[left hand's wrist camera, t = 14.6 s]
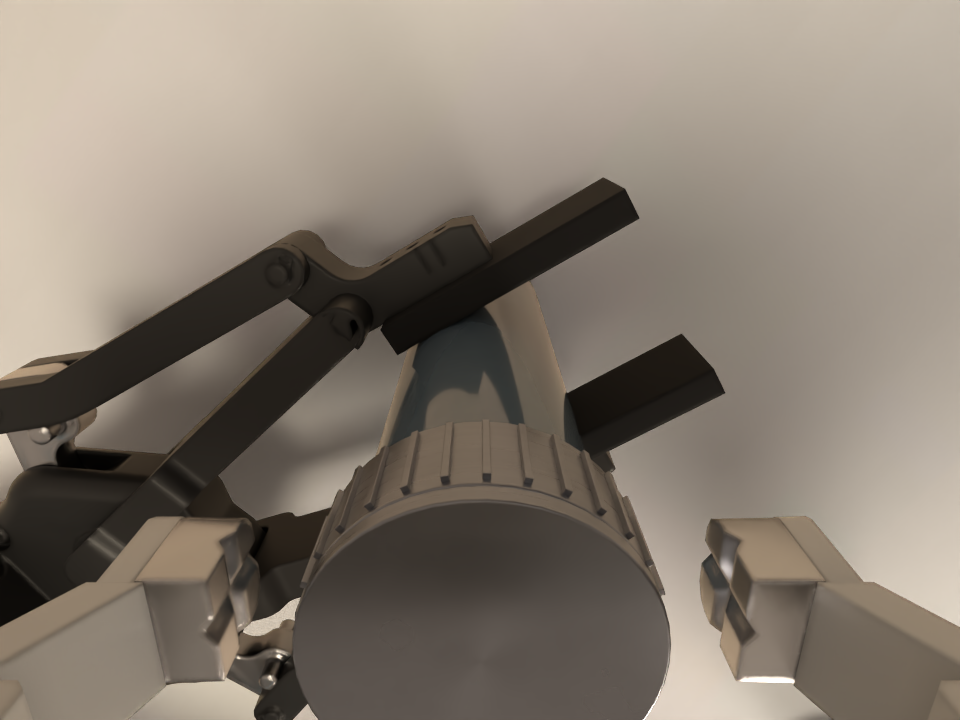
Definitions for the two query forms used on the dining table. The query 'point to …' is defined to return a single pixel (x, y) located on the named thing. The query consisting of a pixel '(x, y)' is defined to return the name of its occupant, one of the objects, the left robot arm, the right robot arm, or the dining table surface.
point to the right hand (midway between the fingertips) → (661, 283)
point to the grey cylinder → (485, 374)
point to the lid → (481, 587)
